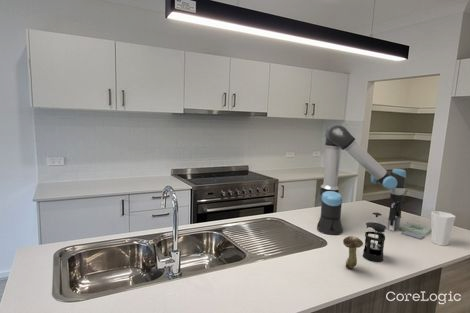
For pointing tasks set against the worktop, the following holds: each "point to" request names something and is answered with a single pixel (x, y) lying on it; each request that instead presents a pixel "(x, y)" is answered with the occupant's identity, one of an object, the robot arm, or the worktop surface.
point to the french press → (372, 246)
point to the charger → (397, 223)
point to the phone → (412, 235)
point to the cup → (441, 227)
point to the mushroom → (352, 250)
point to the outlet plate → (423, 230)
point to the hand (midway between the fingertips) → (393, 228)
